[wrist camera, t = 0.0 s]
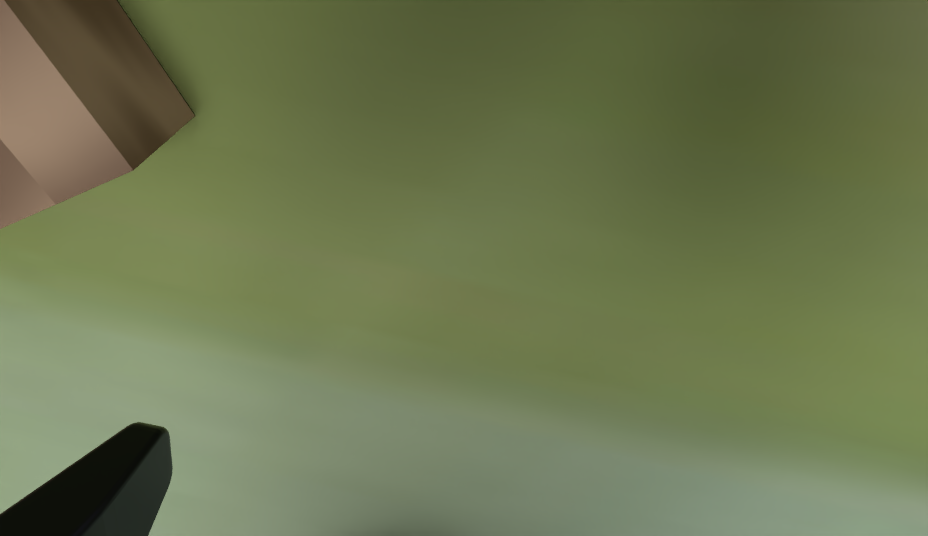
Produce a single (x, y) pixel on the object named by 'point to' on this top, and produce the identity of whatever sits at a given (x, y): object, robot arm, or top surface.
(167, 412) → the top surface
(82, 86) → the brown rectangular frame
